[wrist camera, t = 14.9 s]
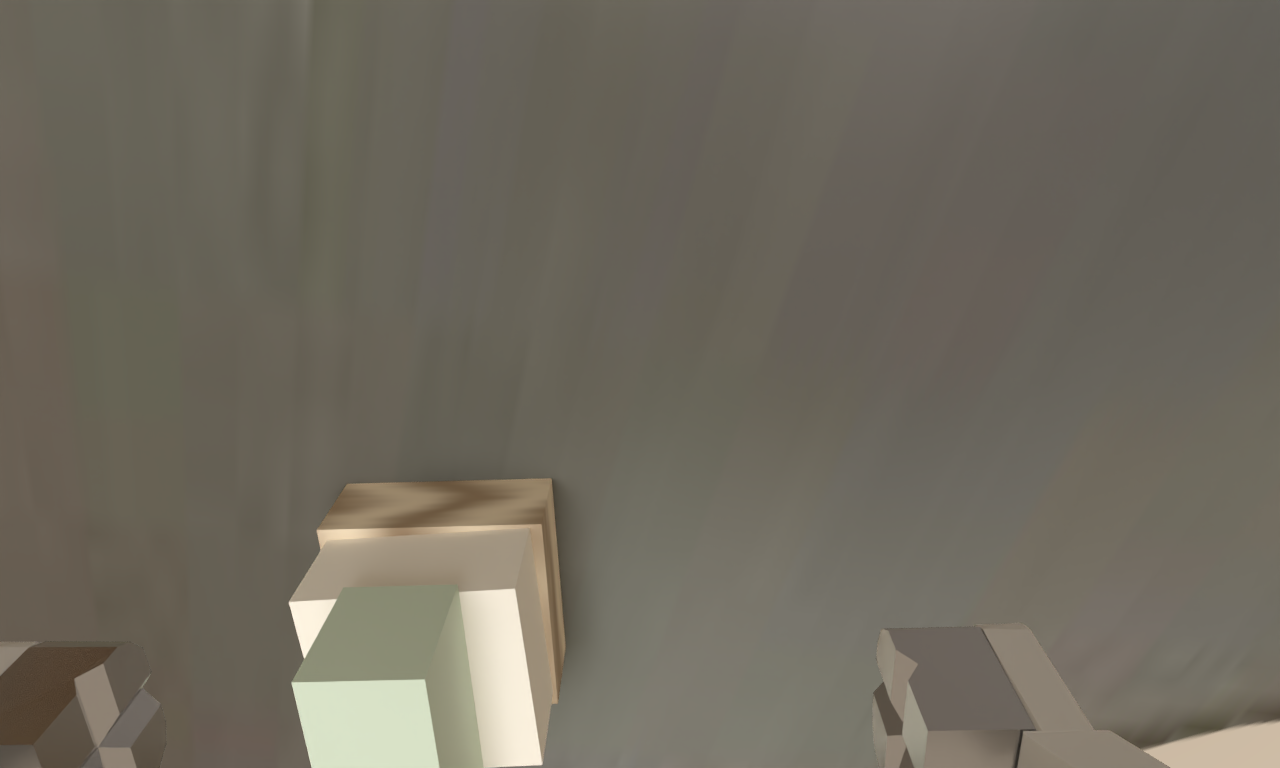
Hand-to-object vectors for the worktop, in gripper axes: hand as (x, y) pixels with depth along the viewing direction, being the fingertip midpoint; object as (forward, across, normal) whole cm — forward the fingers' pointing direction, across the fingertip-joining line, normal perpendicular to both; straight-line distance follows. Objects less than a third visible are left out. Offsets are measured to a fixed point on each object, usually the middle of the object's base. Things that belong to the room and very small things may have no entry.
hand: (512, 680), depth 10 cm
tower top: (+30, +10, +21) cm, 37 cm away
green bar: (+24, +10, +21) cm, 34 cm away
